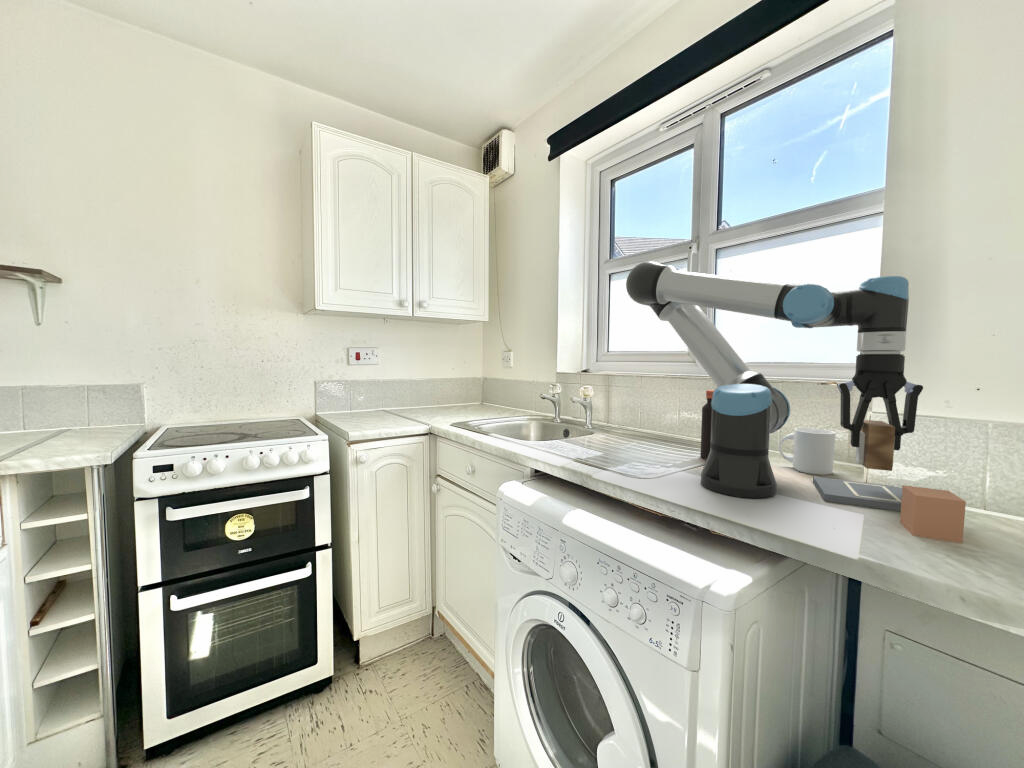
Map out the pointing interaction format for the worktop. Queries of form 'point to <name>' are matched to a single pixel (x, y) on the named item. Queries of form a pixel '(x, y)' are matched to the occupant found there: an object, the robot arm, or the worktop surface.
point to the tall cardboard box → (878, 445)
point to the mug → (811, 450)
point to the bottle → (706, 426)
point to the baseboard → (859, 493)
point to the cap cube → (932, 513)
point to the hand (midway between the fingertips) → (873, 463)
